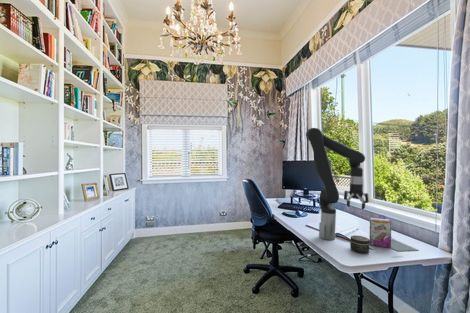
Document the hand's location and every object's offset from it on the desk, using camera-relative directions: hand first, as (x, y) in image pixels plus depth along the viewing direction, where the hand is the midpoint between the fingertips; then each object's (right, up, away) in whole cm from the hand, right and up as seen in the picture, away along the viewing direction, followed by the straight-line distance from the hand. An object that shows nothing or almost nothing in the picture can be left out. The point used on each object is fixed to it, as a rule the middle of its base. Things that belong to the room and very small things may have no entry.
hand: (355, 207), depth 152 cm
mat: (+23, -23, -5) cm, 32 cm away
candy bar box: (+12, -22, -7) cm, 26 cm away
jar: (-6, -22, -16) cm, 28 cm away
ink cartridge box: (+25, -23, +12) cm, 36 cm away
